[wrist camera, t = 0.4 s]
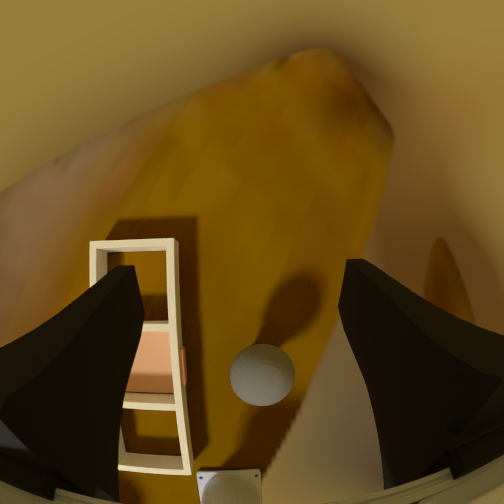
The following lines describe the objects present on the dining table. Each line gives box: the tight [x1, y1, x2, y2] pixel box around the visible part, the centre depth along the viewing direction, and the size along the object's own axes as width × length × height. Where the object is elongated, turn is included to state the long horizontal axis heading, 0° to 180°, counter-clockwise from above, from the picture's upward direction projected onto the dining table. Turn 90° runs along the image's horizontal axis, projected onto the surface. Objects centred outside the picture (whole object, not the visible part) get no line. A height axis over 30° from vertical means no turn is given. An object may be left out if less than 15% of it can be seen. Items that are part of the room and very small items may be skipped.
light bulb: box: [230, 344, 295, 406], centre depth 30 cm, size 6×6×10 cm
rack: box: [90, 238, 194, 475], centre depth 32 cm, size 27×10×4 cm, turn 2°
